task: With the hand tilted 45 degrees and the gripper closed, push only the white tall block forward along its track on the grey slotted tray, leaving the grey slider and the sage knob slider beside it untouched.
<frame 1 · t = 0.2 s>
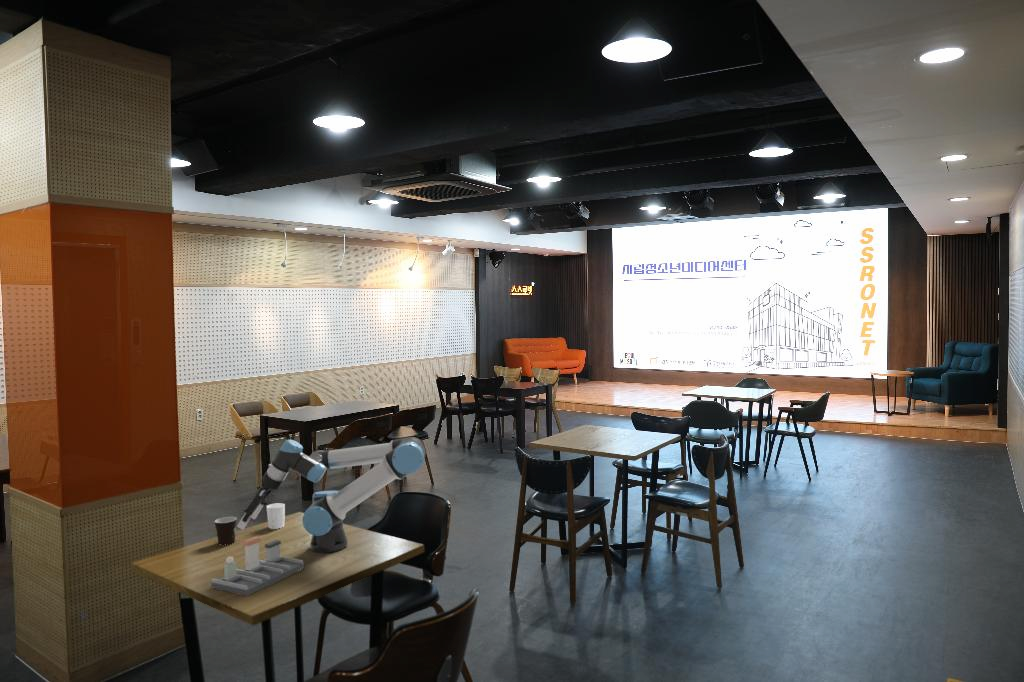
hand: (246, 522, 270), 16 cm above the table, tool tilted 35°, fingers open, 13 cm apart
coffee mug: (228, 542, 295), on the table
grey slotted tray: (259, 577, 254), on the table
white tall block: (252, 554, 255), point 8 cm above the table, slide at 0.0 cm
grey slider: (273, 551, 264), point 6 cm above the table, slide at 0.0 cm
white cup: (276, 527, 314), on the table
sage knob slider: (230, 568, 246), point 7 cm above the table, slide at 0.0 cm
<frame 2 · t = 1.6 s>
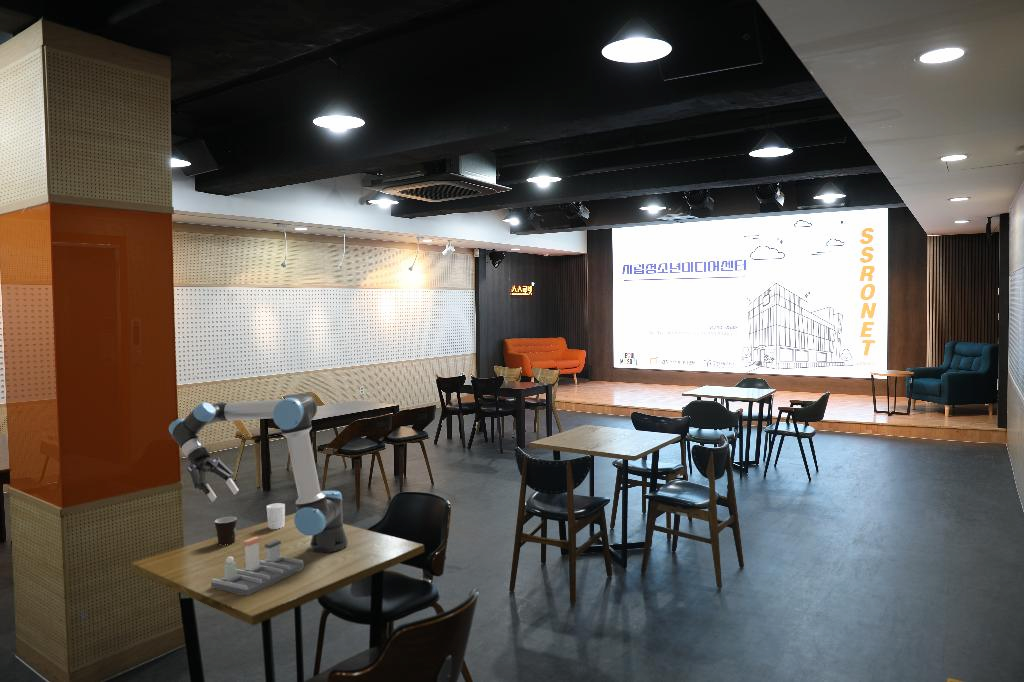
hand: (225, 495, 267), 27 cm above the table, tool tilted 45°, fingers open, 10 cm apart
nothing on the table moved.
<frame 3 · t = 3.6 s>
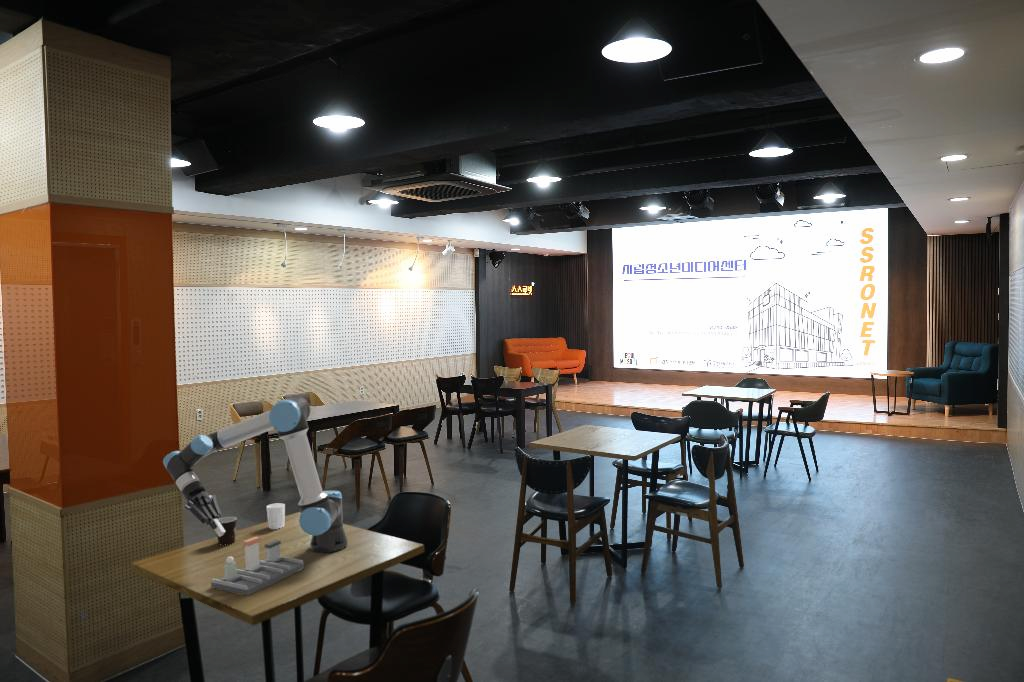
hand: (222, 534, 261), 14 cm above the table, tool tilted 45°, fingers closed
nothing on the table moved.
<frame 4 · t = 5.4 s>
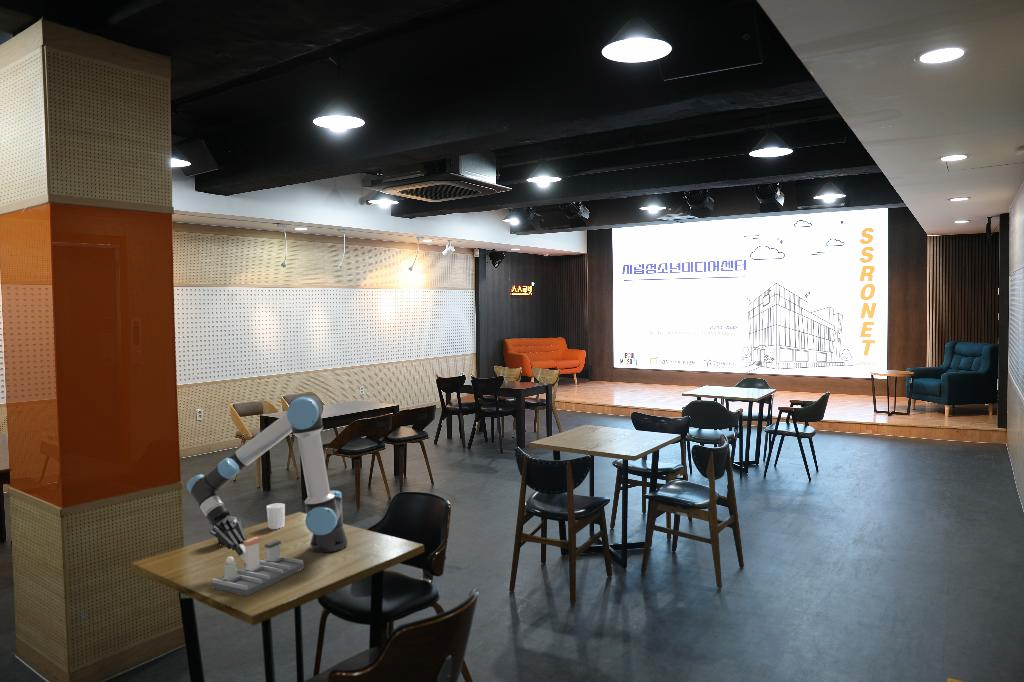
hand: (248, 560, 256), 6 cm above the table, tool tilted 45°, fingers closed
white tall block: (252, 554, 255), point 8 cm above the table, slide at 0.1 cm, touching gripper
everything else where it was.
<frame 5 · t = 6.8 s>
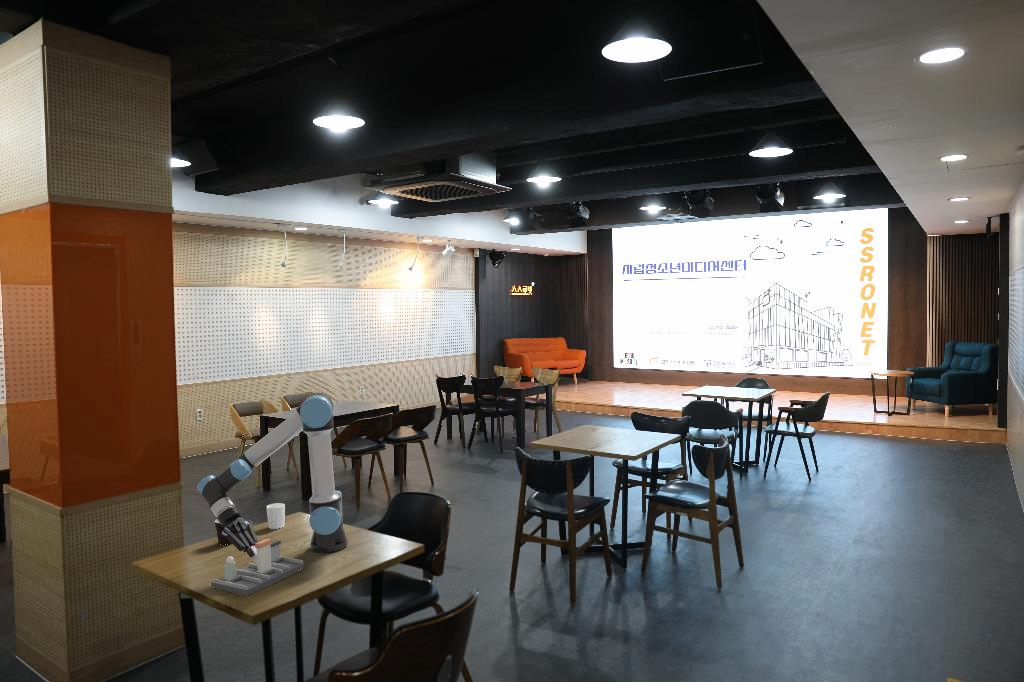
hand: (260, 562, 253), 6 cm above the table, tool tilted 45°, fingers closed
white tall block: (264, 557, 252), point 8 cm above the table, slide at 6.0 cm, touching gripper
everything else where it was.
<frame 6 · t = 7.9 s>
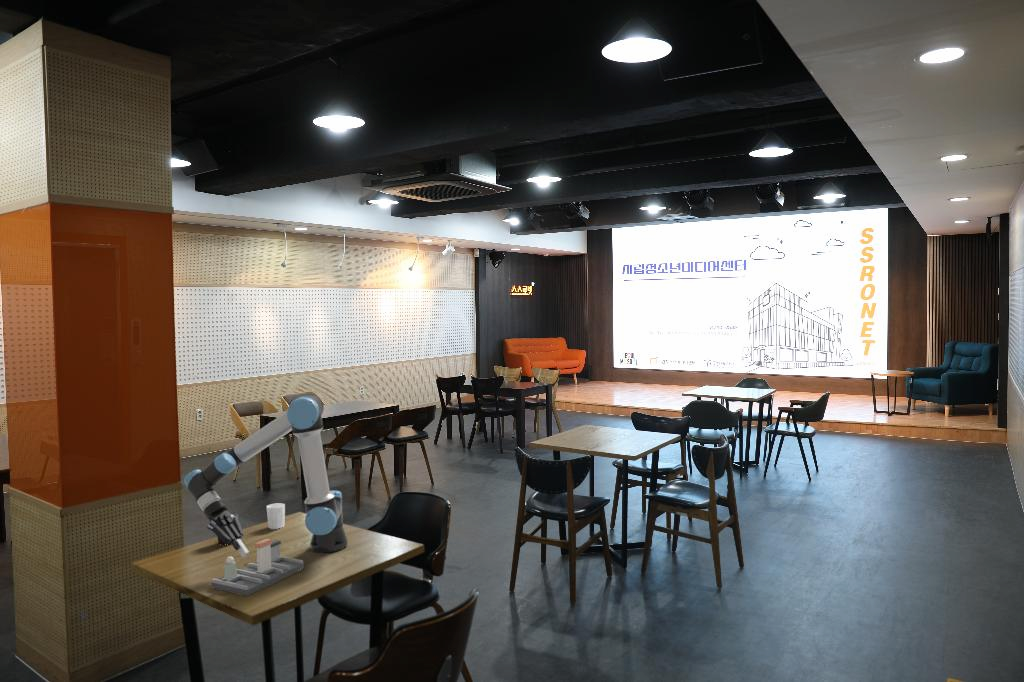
hand: (245, 554, 256), 8 cm above the table, tool tilted 45°, fingers closed
white tall block: (264, 557, 252), point 8 cm above the table, slide at 6.0 cm
everything else where it was.
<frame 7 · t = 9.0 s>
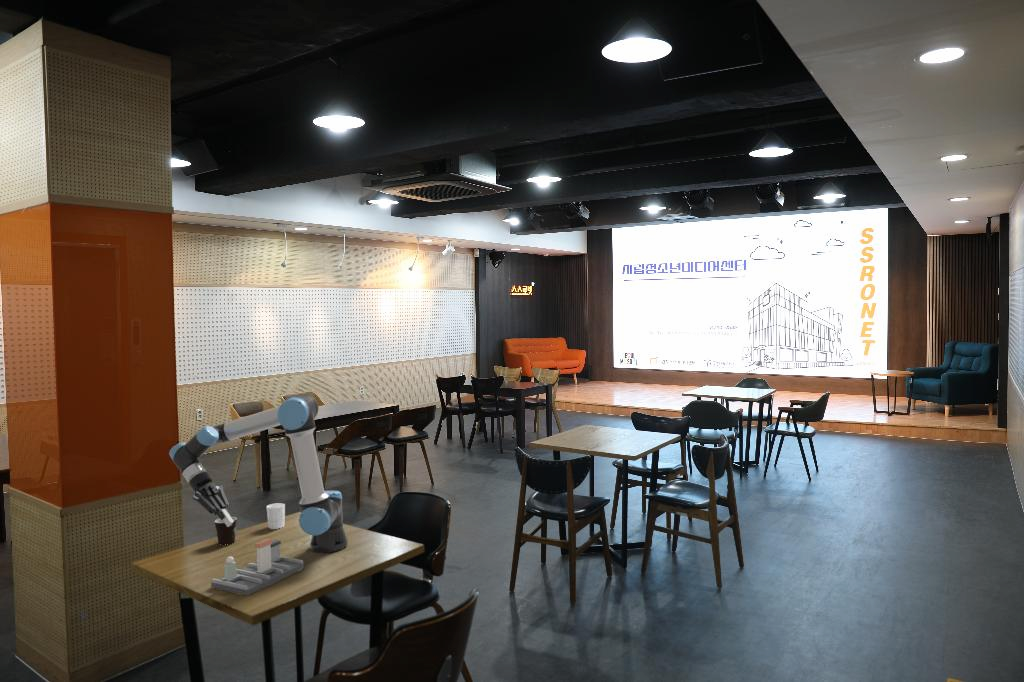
hand: (230, 524, 262), 18 cm above the table, tool tilted 45°, fingers closed
nothing on the table moved.
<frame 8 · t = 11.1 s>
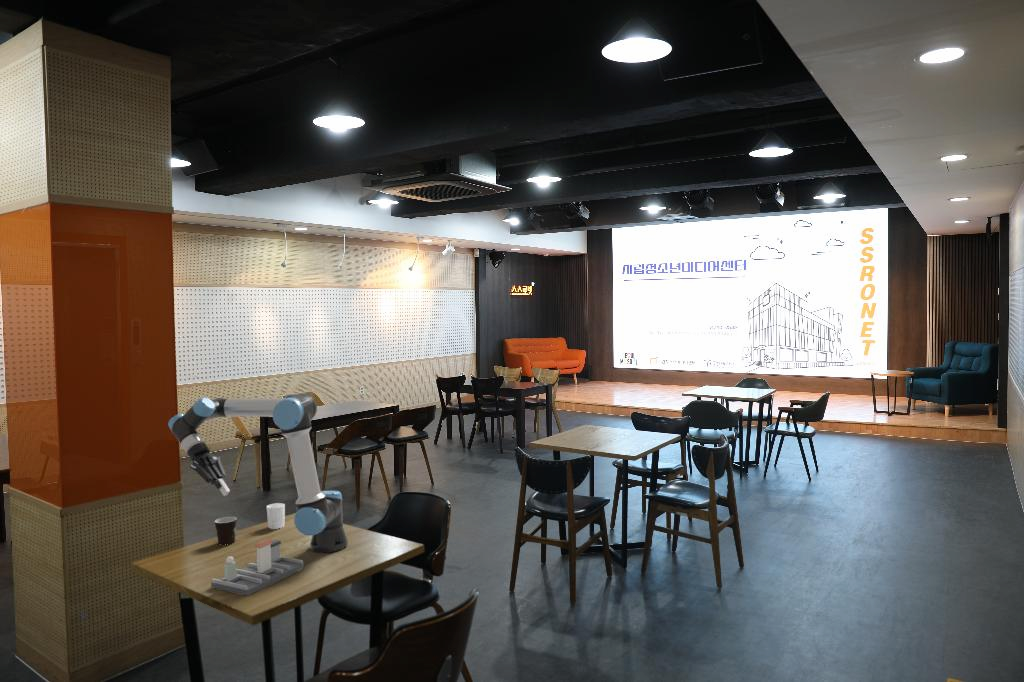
hand: (227, 493, 267), 28 cm above the table, tool tilted 45°, fingers closed
nothing on the table moved.
at the end: white tall block slide at 6.0 cm; grey slider slide at 0.0 cm; sage knob slider slide at 0.0 cm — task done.
